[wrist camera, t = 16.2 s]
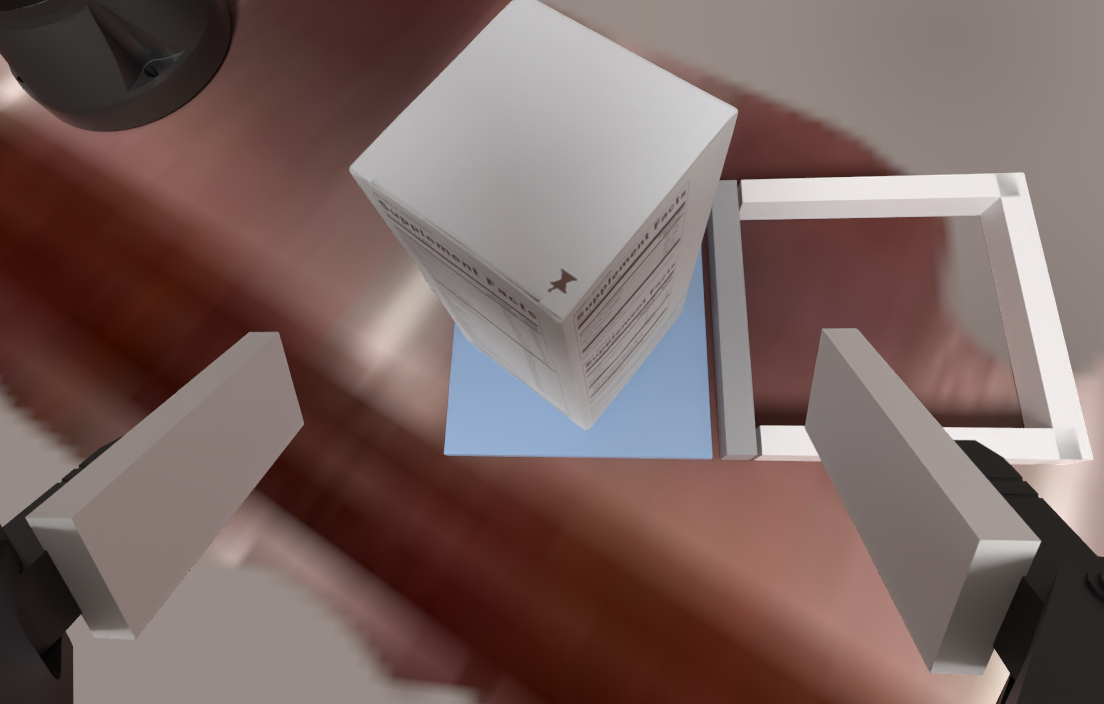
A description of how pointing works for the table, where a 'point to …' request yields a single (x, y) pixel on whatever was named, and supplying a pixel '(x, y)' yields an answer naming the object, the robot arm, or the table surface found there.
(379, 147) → the supplement box
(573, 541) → the table surface
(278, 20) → the table surface
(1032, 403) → the bay rack
